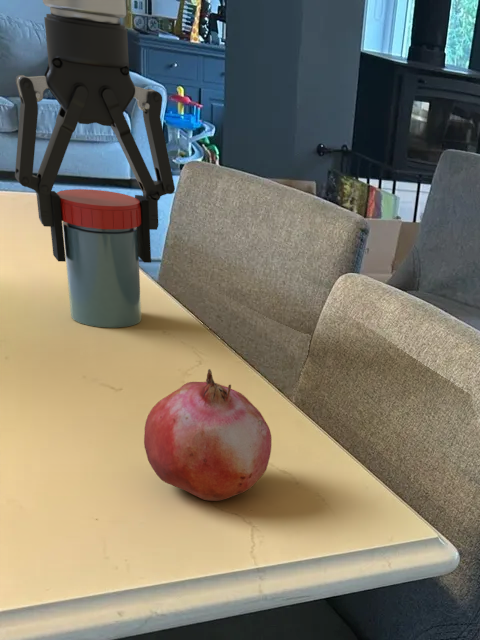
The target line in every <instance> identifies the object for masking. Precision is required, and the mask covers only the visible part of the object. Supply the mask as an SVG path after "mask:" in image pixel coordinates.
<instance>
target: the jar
mask: <svg viewBox="0 0 480 640" xmlns="http://www.w3.org/2000/svg"><path fill="white" fill-rule="evenodd" d="M62 227H63V237H64V248H65V259H66V262H65V265H66V266H65V267H66V278H67V279H66V280H67V289H68V301H69V311H70V317H71V319H72V320H73V321H75V322H77V323H79V324H82V325H86V326H90V327H97V328H106V329H107V328H109V329H111V328H112V329H113V328H114V329H115V328H127V327H132V326H135V325H138V324H139V323H140V322H141V321H142V301H141V300H142V299H141V280H140V279H141V278H140V258H139V253H138V231H137V227H135V228H130V229H97V228H88V227H82V226H77V225H73V224H69V223H66V222H64V221H62Z"/></svg>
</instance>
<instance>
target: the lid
mask: <svg viewBox="0 0 480 640" xmlns="http://www.w3.org/2000/svg"><path fill="white" fill-rule="evenodd" d="M56 193H57V194H58V195H59V196H60V205H61V216H62V222H63V221H64V222H66V223H69V224H73V225H77V226H82V227H88V228H97V229H130V228H135V227H138V226H140V225H141V208H140V201H139V200H138V199H137V198H135V196H132V195H129V194H125V193H120V192H115V191H109V190H100V189H84V188H77V189H74V188H73V189H63V190H60V191H57V192H56Z"/></svg>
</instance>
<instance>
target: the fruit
mask: <svg viewBox="0 0 480 640" xmlns="http://www.w3.org/2000/svg"><path fill="white" fill-rule="evenodd" d="M143 445H144V450H145V454H146V458H147V460H148V461H147V462H148V463H149V465H150V467H151V469H152V470H153V471H154V473H155V475H157V477H158V478H159V479H160V480H161V481H162V482H163V483H166V484H168V485H171V486H173V487H176V488H178V489H181V490H183V491H185V492H187V493H189V494H191V495H193V496H195V497H198V498H199V499H200V500H203V501H210V502H215V501H216V502H217V501H224V500H227V499H229V498H232V497H235V496H237V495H241V494H243V493H245V492H246V491H248V490H250V489H251V488H252V487H253V486H255V485H256V483H257V482H258V481H259V480H260V479H261V477H262V476H263V475H264V474H265V473H266V472H267V469H268V465H269V463H270V458H271V453H272V433H271V429H270V427H269V425H268V423H267V421H266V420H265V417H264V416H263V415H262V413H261V411H260V410H259V409H258V408H257V407H256V406H255V405H254V404H253V403H252V402H251V401H250V400H249V399H248V397H246V396H245V395H244V394H243V393H241V392H239V391H237V390H235V389H233V388H232V384H228V386H226V385H223V384H220V383H217V382H215V380H214V377H213V372H212V370H211V369H210V368H208V369H207V374H206V379H205V381H188V382H186V383H184V384H182V385H181V386H180V387H179V388H177V389H175V390H174V391H173V392H171V393H170V394H168V395H166V396H165V397H163V398H162V399H160V400H159V401H158V402H157V403H156V404H155V405H154V406H153V407H152V408H151V410H150V411H149V413H148V415H147V417H146V419H145V425H144V435H143Z"/></svg>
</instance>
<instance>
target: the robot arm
mask: <svg viewBox="0 0 480 640" xmlns="http://www.w3.org/2000/svg"><path fill="white" fill-rule="evenodd" d="M42 3H43V4H44V6H45V7H48V8H49V9H50V10H49V12H50V13H46V14H45V17H44V28H45V29H44V30H45V40H46V50H47V66H46V67H47V68H46V70H45V72H44V75H38V76H37V75H36V76H25V75H24V74H18V75H16V77H15V85H16V89H17V92H18V96H19V100H20V103H19V105H20V106H19V118H18V131H17V142H16V143H17V145H16V155H15V156H16V157H15V168H14V170H15V172H14V178H15V179H16V181H17V182H18V183H19V184H20V185H21V186H22V187H24V188H29V189H30V190H33V191H34V192H35V194H36V202H37V204H36V205H37V212H38V213H37V214H38V219H39V221H40V224H41V225H42V226H43V227H47V228H48V227H49V228H50V237H51V246H52V253H53V254H52V255H53V256H54V258H55V259H56V261H57V262H65V263H66V256H65V244H64V233H63V221H62V216H61V205H60V196H59V195H58V194H57V192H56V191H55V190H53V187H54V185H55V182H56V179H57V178H58V177H57V176H58V174H59V172H60V168H61V165H62V163H63V160H64V158H65V156H66V153H67V149H68V147H69V144H70V141H71V139H72V135H73V134H74V133H75V131H76V128H77V126H78V124H79V125H80V124H81V125H91V124H98V125H101V126H105V127H110V129H111V130H112V132H113V133H114V135H115V138H116V139H117V141H118V143H119V146H120V147H121V150H122V152H123V154H124V157H125V159H126V161H127V163H128V165H129V167H130V169H131V172H132V173H133V175H134V177H135V180H136V182H137V184H138V186H139V188H140V190H141V192H142V194H134V197H135V198H137V199H138V200H139V201H140V208H141V225H140V226H138V227H137V231H138V253H139V260H141V261H142V262H143V263H150V264H151V263H152V249H151V248H152V247H151V231H153V230H154V231H156V230H157V231H158V228H159V202H158V201H159V200H160V199H161V197H163V196H165V195H172V194H173V193H175V189H176V188H175V182H174V177H173V172H172V168H171V162H170V157H169V152H168V148H167V143H166V138H165V133H164V127H163V124H162V118H161V114H162V107H163V95H162V94H161V92H159V91H157V90H155V89H153V88H143V87H140V86H137V85H135V84H134V81H133V80H132V77H131V74H130V61H129V59H130V58H129V42H128V41H129V40H128V29H127V28H126V26H125V25H124V24H122V23H121V19H124V18H125V17H126V16H127V5H126V4H127V0H42ZM46 90H49V91H50V93H51V94H52V96H53V98H54V99H55V100H56V102H57V103H58V104H59V106H60V107H59V109H58V112H57V114H56V118H55V125H54V127H53V130H52V132H51V134H50V138H49V141H48V143H47V147H46V149H45V151H44V154H43V157H42V160H41V162H40V165H39V168H38V171H37V174H36V175H34V162H35V151H36V139H37V127H38V118H39V117H38V115H39V106H38V105H39V104H38V103H39V102H42V101H43V99H44V93H45V91H46ZM133 99H135V100H136V103H137V104H136V105H137V107H138V109H139V110H140V111H142V117H143V122H144V127H145V131H146V137H147V141H148V145H149V150H150V155H151V161H152V164H153V169H154V173H155V179H156V181H154V179H153V178H152V174H151V173H150V171H149V169H148V167H147V164H146V162H145V160H144V158H143V155H142V153H141V152H140V149H139V146H138V145H137V142H136V139H135V138H134V136H133V134H132V130H131V127H130V125H129V122H128V121H127V118H126V117H125V114H124V113H125V111H126V110H127V108H128V106H129V105H130V103H131V102H132V101H133Z"/></svg>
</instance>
